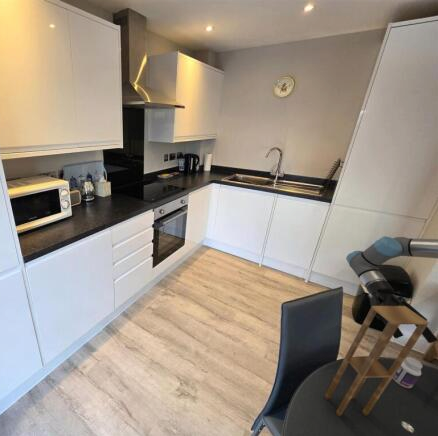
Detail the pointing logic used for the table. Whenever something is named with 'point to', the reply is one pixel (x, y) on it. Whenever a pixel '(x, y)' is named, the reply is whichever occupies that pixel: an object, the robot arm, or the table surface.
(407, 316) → the shelf
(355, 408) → the table surface
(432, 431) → the table surface
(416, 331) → the stand frame
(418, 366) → the pill bottle
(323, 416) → the table surface
